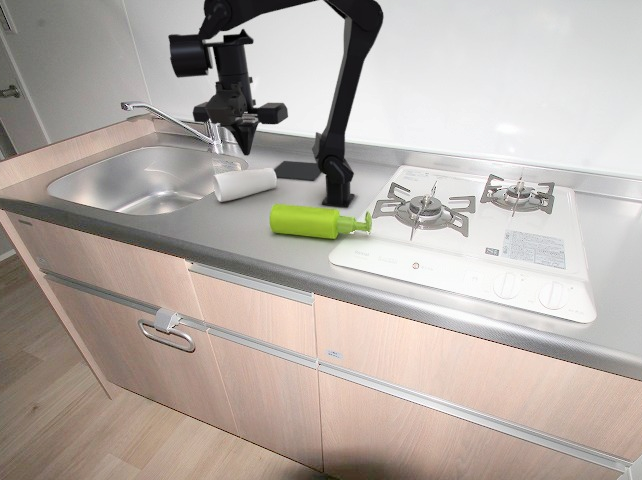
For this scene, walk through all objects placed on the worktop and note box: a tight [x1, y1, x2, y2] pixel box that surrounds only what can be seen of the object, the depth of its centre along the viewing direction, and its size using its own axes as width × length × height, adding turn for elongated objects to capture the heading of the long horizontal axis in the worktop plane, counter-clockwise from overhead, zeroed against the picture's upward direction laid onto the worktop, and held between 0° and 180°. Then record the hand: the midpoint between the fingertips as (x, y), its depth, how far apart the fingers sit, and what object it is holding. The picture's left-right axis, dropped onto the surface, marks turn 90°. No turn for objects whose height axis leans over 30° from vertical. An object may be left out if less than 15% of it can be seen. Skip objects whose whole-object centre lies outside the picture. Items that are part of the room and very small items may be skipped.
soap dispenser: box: [269, 203, 373, 240], centre depth 72 cm, size 6×7×20 cm
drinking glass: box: [211, 167, 278, 203], centre depth 91 cm, size 7×7×15 cm
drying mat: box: [273, 160, 322, 182], centre depth 104 cm, size 12×14×1 cm
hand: (247, 155), depth 78 cm, fingers closed
